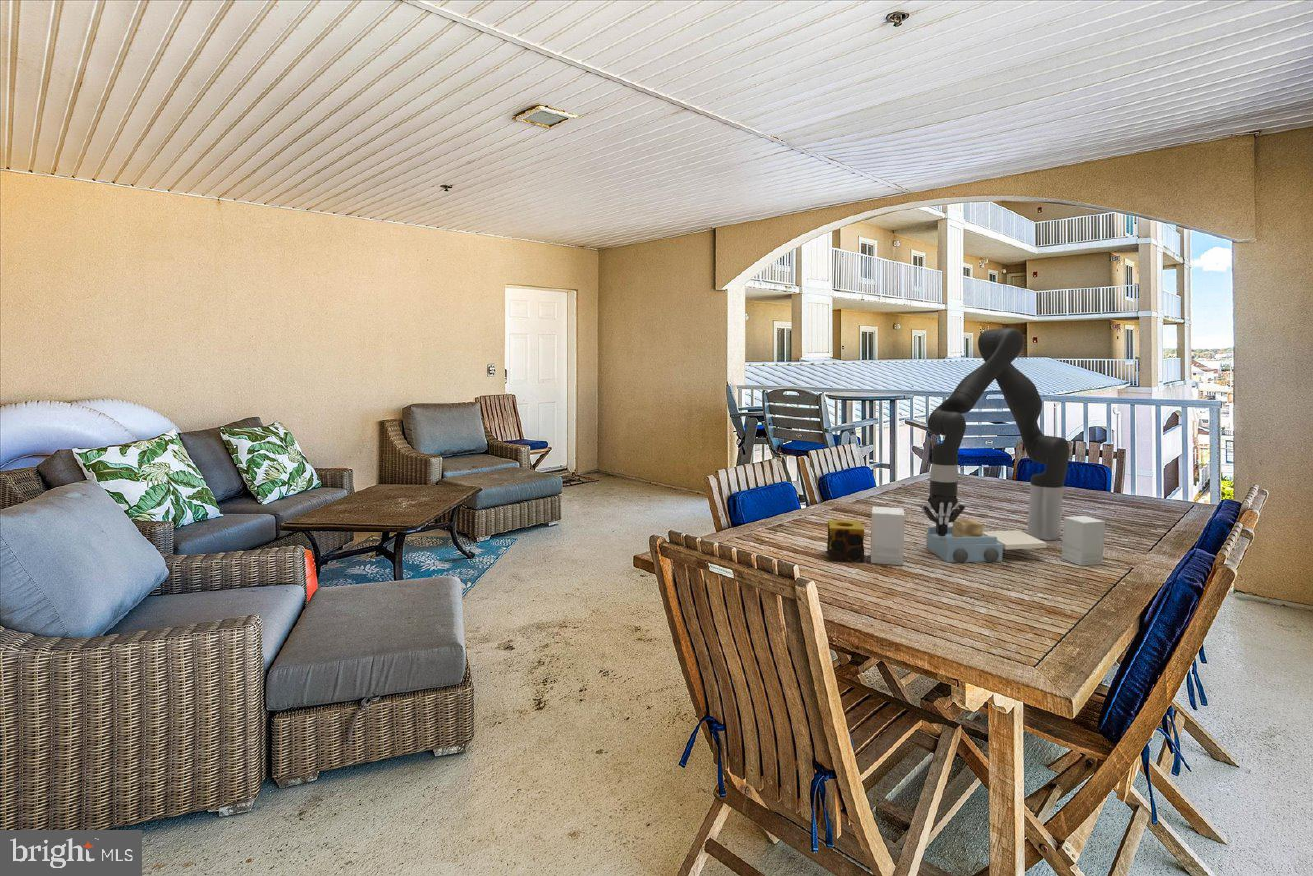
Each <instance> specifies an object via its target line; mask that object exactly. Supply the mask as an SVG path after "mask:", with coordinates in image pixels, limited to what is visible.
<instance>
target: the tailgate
mask: <svg viewBox="0 0 1313 876" xmlns="http://www.w3.org/2000/svg"><path fill="white" fill-rule="evenodd" d="M982 534H983V535H985V536H987V537H989V536H995V537H997V542H999V543H1001V544H1003V549H1005V550H1025V549H1026V550H1027V549H1044V548H1045V549H1046V548H1048V547H1047V545H1048V544H1047V542H1045V541H1044V540H1042V539H1037V538H1034V537H1032V536H1030V535H1028V534H1027V532H1026V533H1025V532H1024V531H1021V530H1020V529H1017V530H1015V529H1014V530H996V531H994V530H993V531H992V530H991V531H983V532H982Z"/></svg>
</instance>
